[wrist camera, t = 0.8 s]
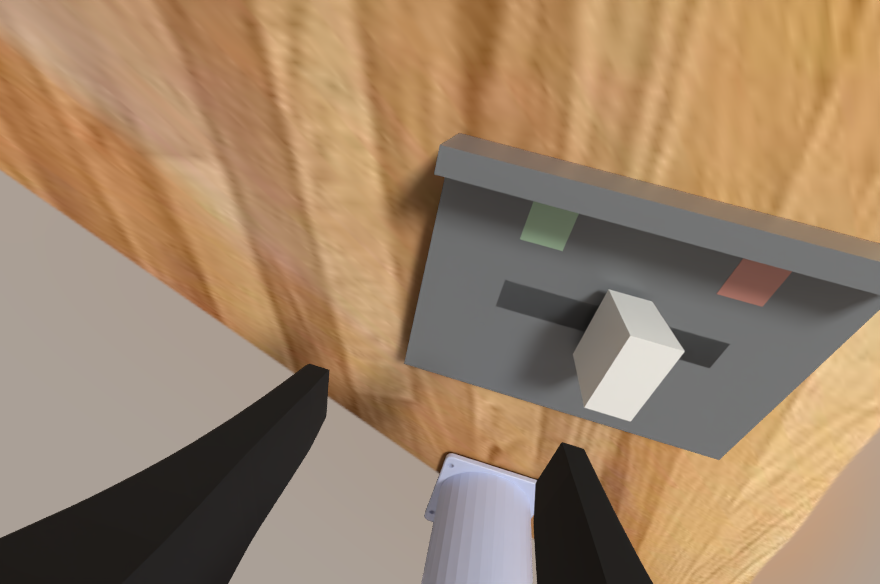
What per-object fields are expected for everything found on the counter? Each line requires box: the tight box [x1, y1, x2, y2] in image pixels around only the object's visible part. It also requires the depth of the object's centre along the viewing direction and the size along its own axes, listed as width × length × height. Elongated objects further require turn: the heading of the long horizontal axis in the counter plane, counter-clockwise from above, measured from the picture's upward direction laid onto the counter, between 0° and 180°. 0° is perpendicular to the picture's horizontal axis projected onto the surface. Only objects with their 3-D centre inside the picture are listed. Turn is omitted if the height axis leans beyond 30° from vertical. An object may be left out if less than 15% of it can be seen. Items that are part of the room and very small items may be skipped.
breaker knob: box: [573, 289, 685, 422], centre depth 15 cm, size 4×2×4 cm, turn 168°
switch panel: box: [404, 133, 880, 460], centre depth 17 cm, size 13×19×4 cm
